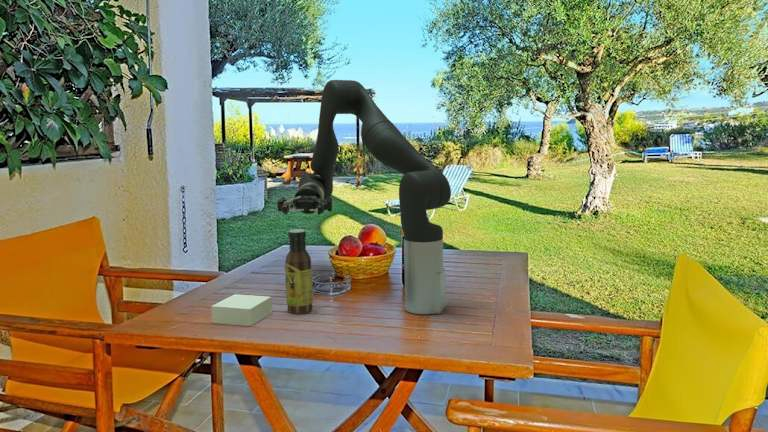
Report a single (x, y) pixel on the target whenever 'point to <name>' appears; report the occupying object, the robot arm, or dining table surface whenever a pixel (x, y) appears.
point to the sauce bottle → (298, 274)
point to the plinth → (241, 310)
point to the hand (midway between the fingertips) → (302, 210)
